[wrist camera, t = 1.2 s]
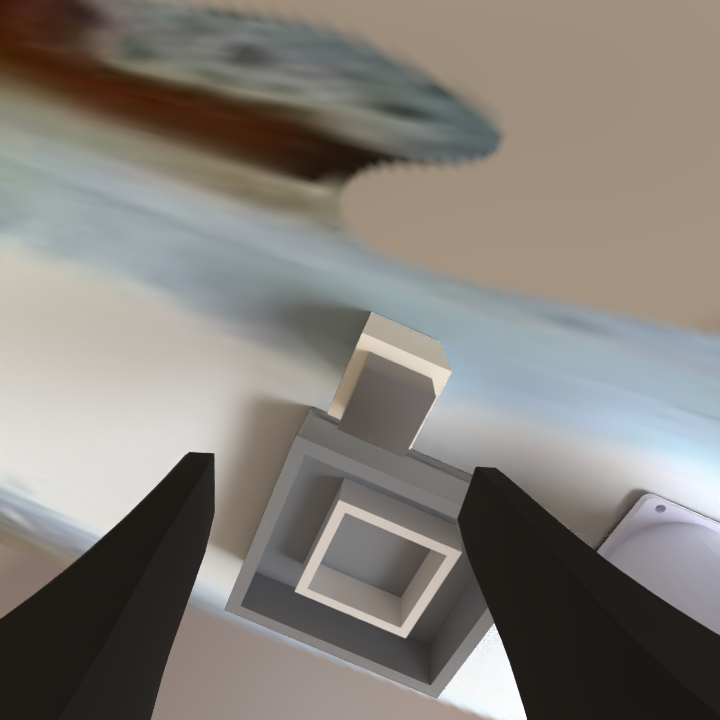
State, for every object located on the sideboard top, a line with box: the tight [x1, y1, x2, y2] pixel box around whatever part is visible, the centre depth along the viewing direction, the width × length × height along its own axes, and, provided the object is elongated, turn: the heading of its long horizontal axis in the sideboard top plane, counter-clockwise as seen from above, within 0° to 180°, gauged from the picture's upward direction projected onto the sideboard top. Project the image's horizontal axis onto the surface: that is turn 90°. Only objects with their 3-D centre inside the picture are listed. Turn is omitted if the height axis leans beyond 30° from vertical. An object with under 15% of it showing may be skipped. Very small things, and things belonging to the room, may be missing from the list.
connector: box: [327, 312, 452, 458], centre depth 17 cm, size 4×4×7 cm
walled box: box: [224, 407, 494, 699], centre depth 23 cm, size 14×13×4 cm
